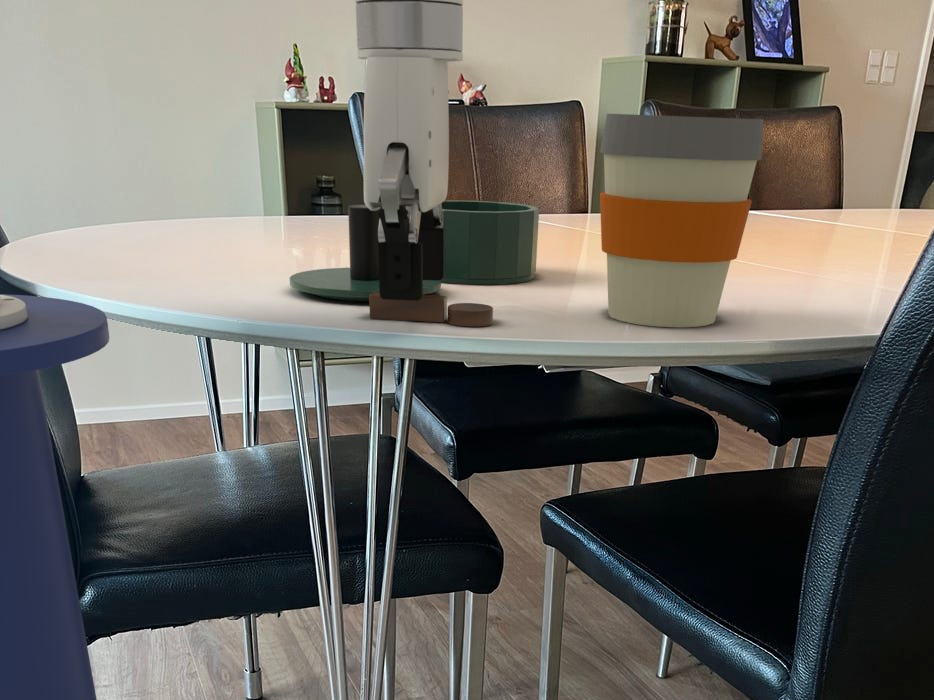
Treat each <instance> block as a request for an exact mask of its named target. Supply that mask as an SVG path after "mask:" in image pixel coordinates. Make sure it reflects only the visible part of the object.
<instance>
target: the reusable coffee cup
mask: <svg viewBox="0 0 934 700" xmlns="http://www.w3.org/2000/svg"><path fill="white" fill-rule="evenodd" d="M763 136H764V119H761V118H739V117H738V118H737V117H736V118H734V117H709V116H708V117H707V116H683V115H682V116H681V115H680V116H679V115H656V114H655V115H653V114H630V113H629V114H627V113H606V116H605V123H604V128H603V134H602V138H601V144H600V151H599V153H600V154H603V166H604V168H603V169H604V191H602V192H600V193H599V203H600V204H599V206H600V207H599V208H600V235H601V236H600V237H601V238H600V239H601V241H600V243H601V251H602V252H603V253H604V254H606V271H607V272H606V275H607V278H606V279H607V311H608V316H609V317H610V318H612V319H614V320H617V321H620V322H624V323H628V324H633V325H638V326H639V325H640V326H647V327H648V326H649V327H660V328H696V327H697V328H698V327H704V326H710V325H712V324H714V323H715V321H716V318H717V314H718V310H719V307H720V302H721V299H722V295H723V292H724V287H725V284H726V281H727V276H728V273H729V269H730V265H731V261H733V260H736V259H737V258H738V254H739V250H740V247H741V243H742V240H743V236H744V231H745V228H746V224H747V221H748V216H749V214H750V209H751V205H752V203H753V200H752V199H749V198H748V197H749V192H750V190H751V185H752V181H753V177H754V174H755V171H756V167H757V162H758V161H762V155H763V138H764V137H763Z"/></svg>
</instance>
